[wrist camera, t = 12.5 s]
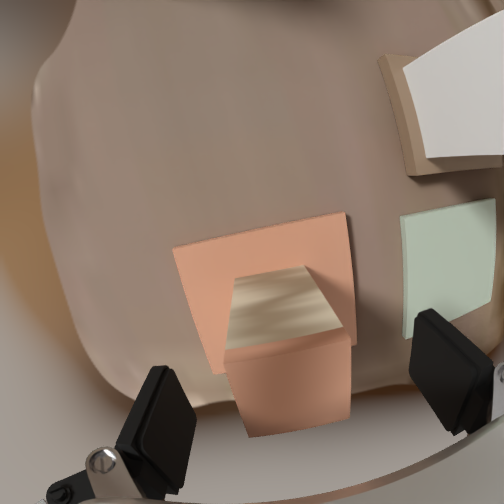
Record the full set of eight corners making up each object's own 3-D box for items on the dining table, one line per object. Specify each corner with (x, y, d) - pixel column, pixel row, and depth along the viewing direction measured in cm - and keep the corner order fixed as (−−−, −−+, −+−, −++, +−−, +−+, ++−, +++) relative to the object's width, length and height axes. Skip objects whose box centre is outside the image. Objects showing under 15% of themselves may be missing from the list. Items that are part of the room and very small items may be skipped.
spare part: (303, 265, 16) (350, 338, 8) (311, 325, 16) (349, 418, 9) (234, 278, 16) (223, 364, 8) (248, 337, 17) (248, 437, 9)
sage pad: (490, 197, 15) (495, 198, 14) (486, 298, 17) (490, 301, 17) (399, 216, 15) (404, 217, 15) (402, 335, 18) (405, 339, 17)
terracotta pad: (341, 211, 15) (345, 212, 15) (354, 340, 18) (357, 344, 17) (174, 246, 16) (172, 249, 15) (214, 369, 18) (213, 374, 17)
